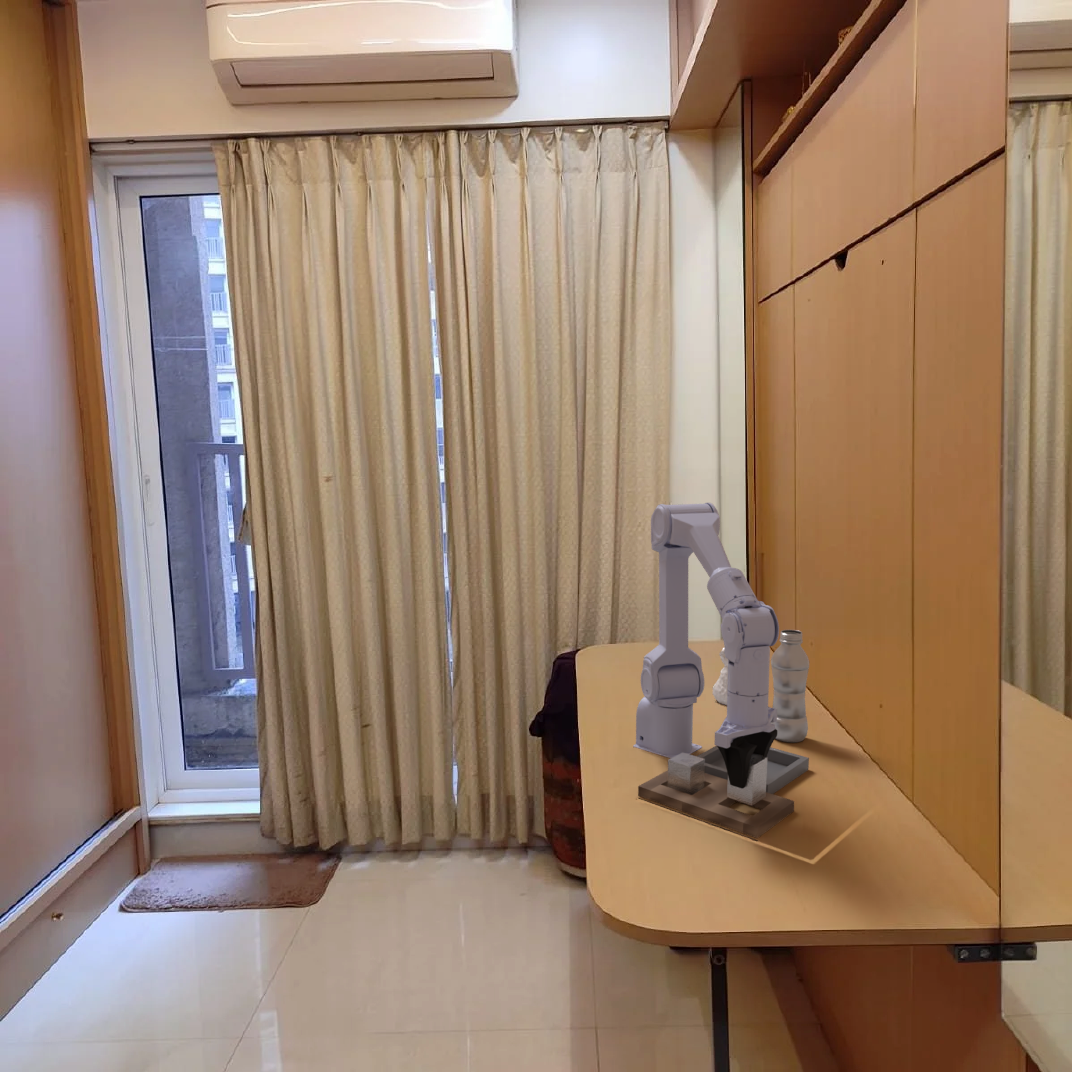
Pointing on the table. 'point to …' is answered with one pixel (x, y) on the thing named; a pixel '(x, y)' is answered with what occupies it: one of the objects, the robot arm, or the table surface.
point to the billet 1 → (686, 773)
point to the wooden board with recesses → (718, 805)
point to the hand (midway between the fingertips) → (745, 781)
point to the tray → (779, 767)
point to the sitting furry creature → (722, 682)
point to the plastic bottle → (790, 687)
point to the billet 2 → (751, 782)
